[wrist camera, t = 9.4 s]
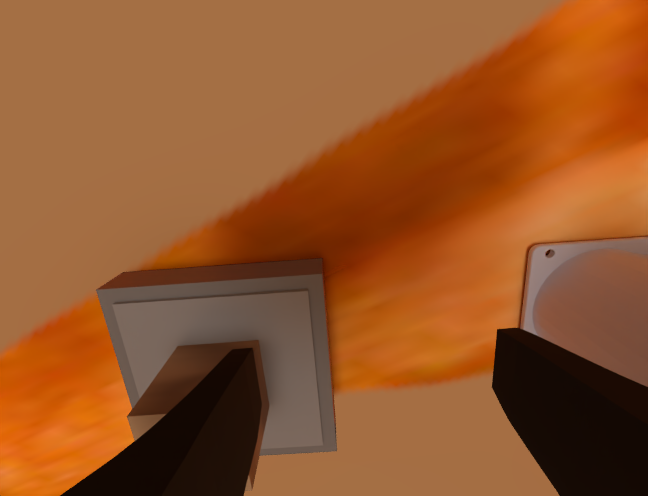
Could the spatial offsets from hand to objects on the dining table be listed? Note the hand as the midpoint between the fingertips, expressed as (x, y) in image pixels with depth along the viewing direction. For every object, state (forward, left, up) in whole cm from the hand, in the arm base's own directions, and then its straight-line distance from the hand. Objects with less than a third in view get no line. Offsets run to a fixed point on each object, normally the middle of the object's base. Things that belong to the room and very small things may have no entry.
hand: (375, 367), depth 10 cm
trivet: (+8, +6, -10) cm, 14 cm away
